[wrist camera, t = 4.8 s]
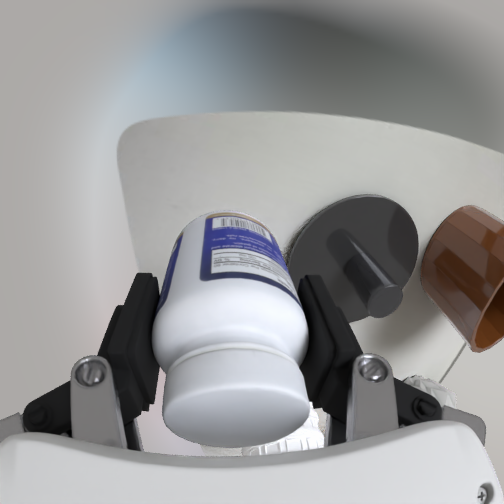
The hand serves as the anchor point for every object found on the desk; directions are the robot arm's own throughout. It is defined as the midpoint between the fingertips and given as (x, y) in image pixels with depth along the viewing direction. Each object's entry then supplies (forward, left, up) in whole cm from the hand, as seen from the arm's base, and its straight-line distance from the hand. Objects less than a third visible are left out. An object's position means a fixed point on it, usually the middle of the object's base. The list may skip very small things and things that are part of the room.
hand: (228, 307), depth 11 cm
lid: (+7, +14, -14) cm, 21 cm away
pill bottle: (0, 0, -4) cm, 4 cm away
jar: (+6, +31, -15) cm, 35 cm away
